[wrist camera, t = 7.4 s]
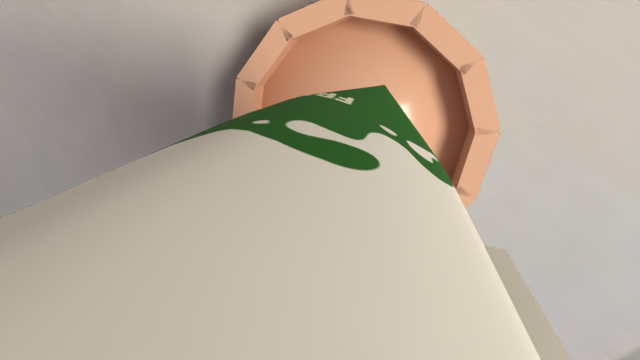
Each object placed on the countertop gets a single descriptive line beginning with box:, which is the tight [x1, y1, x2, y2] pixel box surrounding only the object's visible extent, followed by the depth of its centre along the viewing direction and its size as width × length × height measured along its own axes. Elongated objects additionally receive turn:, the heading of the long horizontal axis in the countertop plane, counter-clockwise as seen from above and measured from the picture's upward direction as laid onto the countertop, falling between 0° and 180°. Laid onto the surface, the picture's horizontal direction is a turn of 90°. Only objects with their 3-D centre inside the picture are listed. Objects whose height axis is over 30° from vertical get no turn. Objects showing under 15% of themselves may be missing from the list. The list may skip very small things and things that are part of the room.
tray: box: [232, 0, 500, 208], centre depth 27 cm, size 19×19×3 cm
